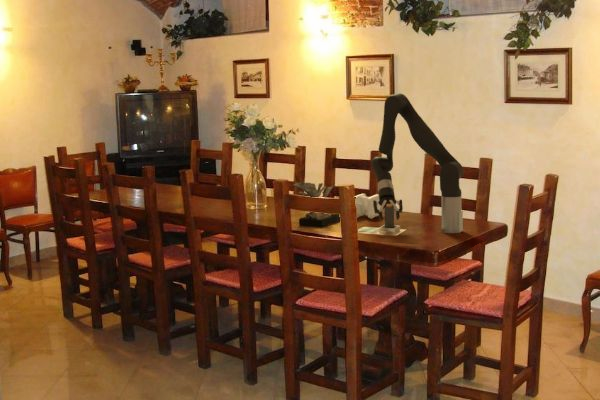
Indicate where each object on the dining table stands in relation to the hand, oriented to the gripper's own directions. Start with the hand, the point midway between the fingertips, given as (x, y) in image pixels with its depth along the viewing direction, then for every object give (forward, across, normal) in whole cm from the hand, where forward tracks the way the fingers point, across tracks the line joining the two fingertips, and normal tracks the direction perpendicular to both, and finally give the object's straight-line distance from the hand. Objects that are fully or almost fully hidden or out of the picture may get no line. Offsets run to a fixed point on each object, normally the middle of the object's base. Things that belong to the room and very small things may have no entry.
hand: (389, 219), depth 351 cm
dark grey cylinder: (+3, 0, +6) cm, 6 cm away
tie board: (+2, -4, +8) cm, 9 cm away
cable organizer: (-28, -5, +39) cm, 48 cm away
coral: (-20, -34, +31) cm, 50 cm away
